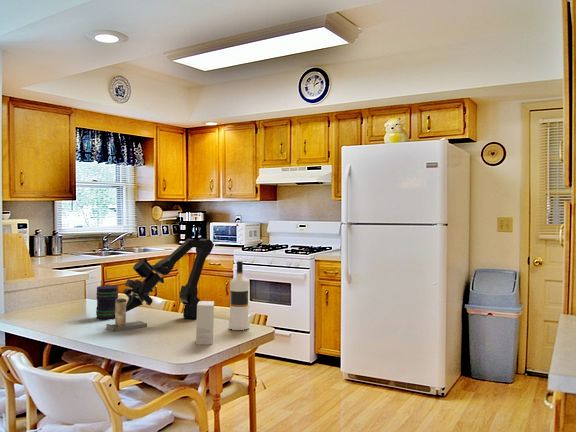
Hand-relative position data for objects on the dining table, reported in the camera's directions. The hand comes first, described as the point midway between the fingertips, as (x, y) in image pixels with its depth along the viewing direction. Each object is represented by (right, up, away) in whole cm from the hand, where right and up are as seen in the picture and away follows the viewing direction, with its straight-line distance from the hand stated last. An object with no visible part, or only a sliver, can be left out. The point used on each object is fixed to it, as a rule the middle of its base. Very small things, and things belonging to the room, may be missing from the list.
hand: (124, 311), depth 215 cm
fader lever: (-1, -6, -1) cm, 6 cm away
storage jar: (-15, -7, +21) cm, 27 cm away
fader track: (+1, -7, +1) cm, 7 cm away
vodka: (+50, -8, +2) cm, 51 cm away
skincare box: (+39, -8, -22) cm, 45 cm away
